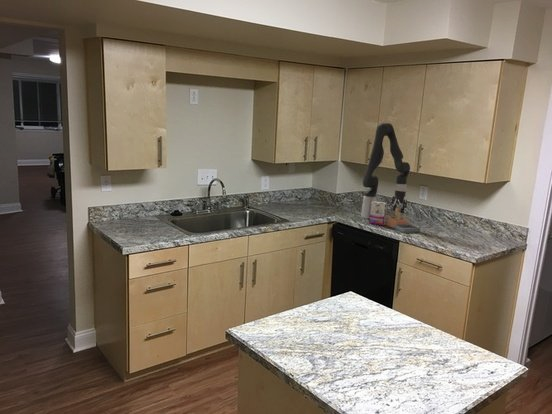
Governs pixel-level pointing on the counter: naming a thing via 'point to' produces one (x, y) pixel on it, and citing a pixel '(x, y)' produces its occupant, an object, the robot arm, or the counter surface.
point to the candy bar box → (378, 213)
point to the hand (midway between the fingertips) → (398, 212)
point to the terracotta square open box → (395, 221)
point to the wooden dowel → (397, 213)
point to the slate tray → (406, 228)
